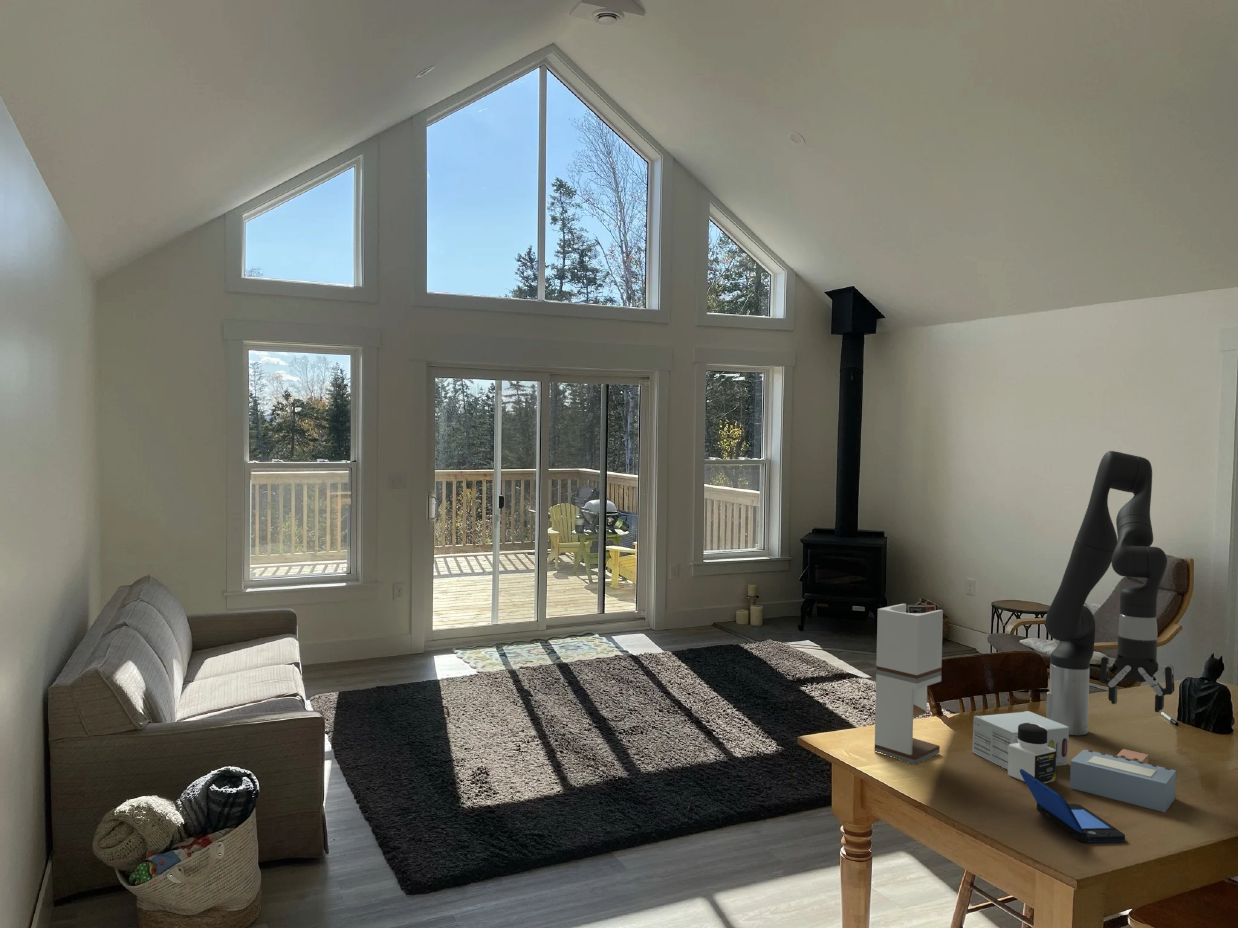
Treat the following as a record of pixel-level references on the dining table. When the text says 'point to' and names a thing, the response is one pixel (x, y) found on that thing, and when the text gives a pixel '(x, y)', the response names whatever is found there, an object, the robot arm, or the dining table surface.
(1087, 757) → the block
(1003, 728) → the supplement box
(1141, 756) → the stub
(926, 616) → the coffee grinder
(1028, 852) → the dining table surface
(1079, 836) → the handheld game console
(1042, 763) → the medicine bottle
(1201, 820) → the dining table surface
